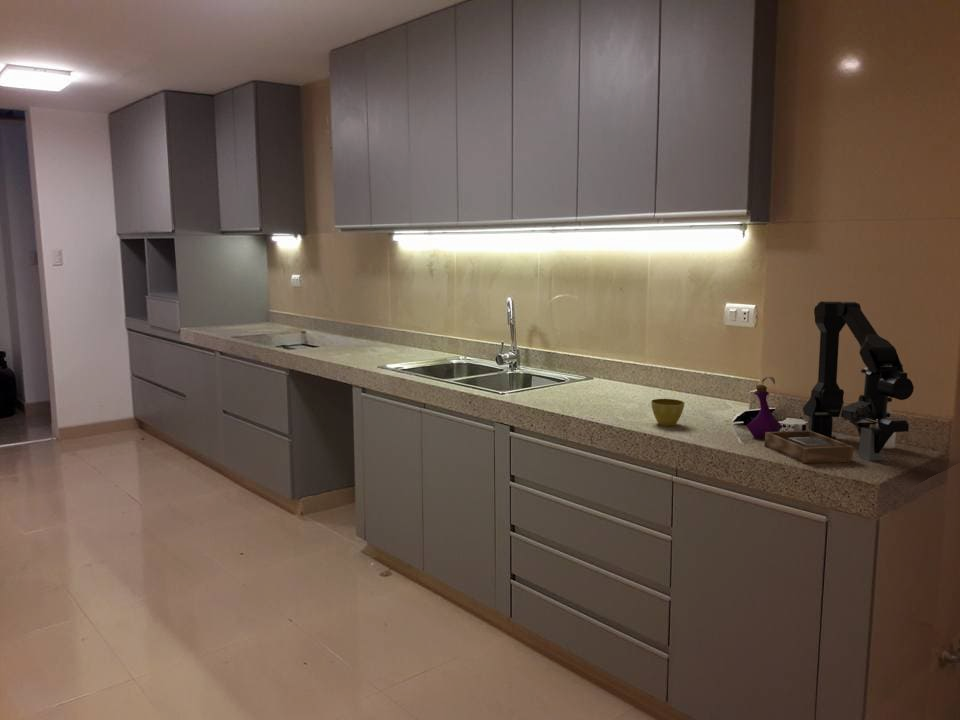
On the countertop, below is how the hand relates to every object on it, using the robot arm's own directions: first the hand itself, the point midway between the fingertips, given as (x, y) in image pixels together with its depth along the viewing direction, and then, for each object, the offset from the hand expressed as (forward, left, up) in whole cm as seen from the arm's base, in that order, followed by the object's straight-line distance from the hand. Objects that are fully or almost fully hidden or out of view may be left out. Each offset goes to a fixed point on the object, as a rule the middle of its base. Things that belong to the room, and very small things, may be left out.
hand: (871, 450), depth 204 cm
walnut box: (-7, -14, -2) cm, 16 cm away
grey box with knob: (0, 0, -2) cm, 2 cm away
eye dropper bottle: (-10, +12, -2) cm, 16 cm away
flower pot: (-46, -36, -2) cm, 58 cm away
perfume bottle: (-26, -15, -2) cm, 30 cm away
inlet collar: (-6, -14, -2) cm, 15 cm away
